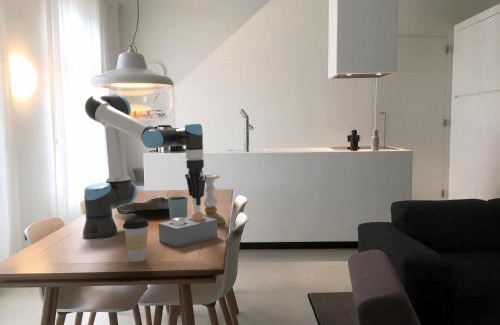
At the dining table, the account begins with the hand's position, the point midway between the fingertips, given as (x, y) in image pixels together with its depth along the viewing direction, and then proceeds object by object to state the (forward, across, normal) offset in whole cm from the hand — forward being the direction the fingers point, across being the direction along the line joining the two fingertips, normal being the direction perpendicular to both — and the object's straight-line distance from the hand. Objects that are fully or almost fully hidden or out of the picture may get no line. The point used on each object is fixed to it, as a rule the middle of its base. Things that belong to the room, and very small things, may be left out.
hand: (197, 212), depth 189 cm
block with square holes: (+11, 0, +5) cm, 12 cm away
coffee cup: (+11, -8, +34) cm, 37 cm away
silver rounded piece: (+8, 0, +10) cm, 13 cm away
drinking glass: (+11, +33, -12) cm, 37 cm away
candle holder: (+11, +16, -20) cm, 28 cm away
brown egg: (+7, 0, 0) cm, 7 cm away
